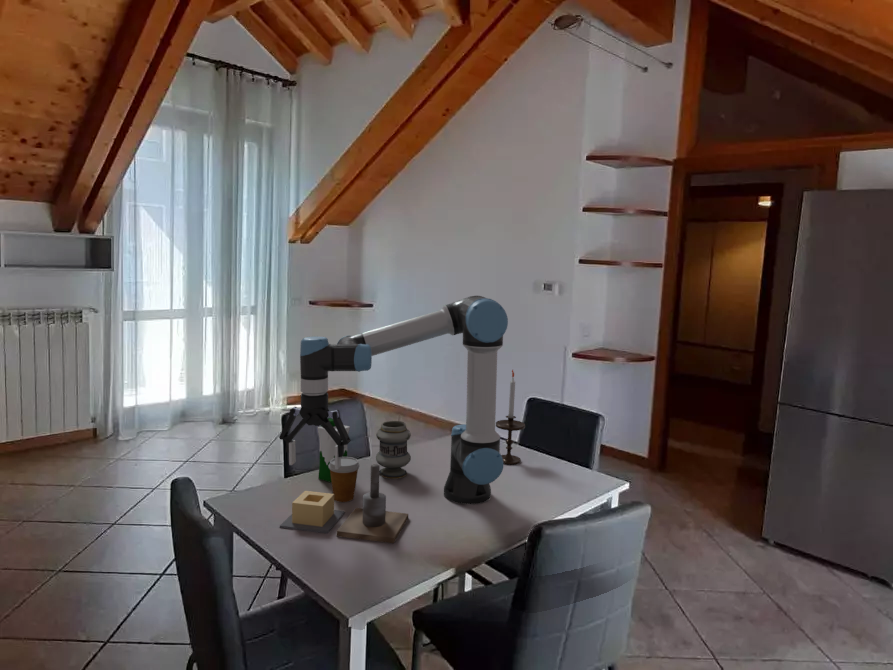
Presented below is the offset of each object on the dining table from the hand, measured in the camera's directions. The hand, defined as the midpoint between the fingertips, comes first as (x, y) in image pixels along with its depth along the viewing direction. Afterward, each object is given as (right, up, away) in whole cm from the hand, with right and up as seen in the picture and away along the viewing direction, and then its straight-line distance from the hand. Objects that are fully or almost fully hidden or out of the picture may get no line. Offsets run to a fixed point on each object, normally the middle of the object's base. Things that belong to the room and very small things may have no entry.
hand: (314, 465), depth 180 cm
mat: (-1, -16, +2) cm, 16 cm away
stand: (+17, -17, -1) cm, 24 cm away
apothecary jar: (+19, -11, +41) cm, 46 cm away
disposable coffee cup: (+5, -14, +18) cm, 24 cm away
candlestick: (+60, -10, +59) cm, 85 cm away
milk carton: (-1, -12, +35) cm, 36 cm away
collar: (-1, -15, +2) cm, 16 cm away
